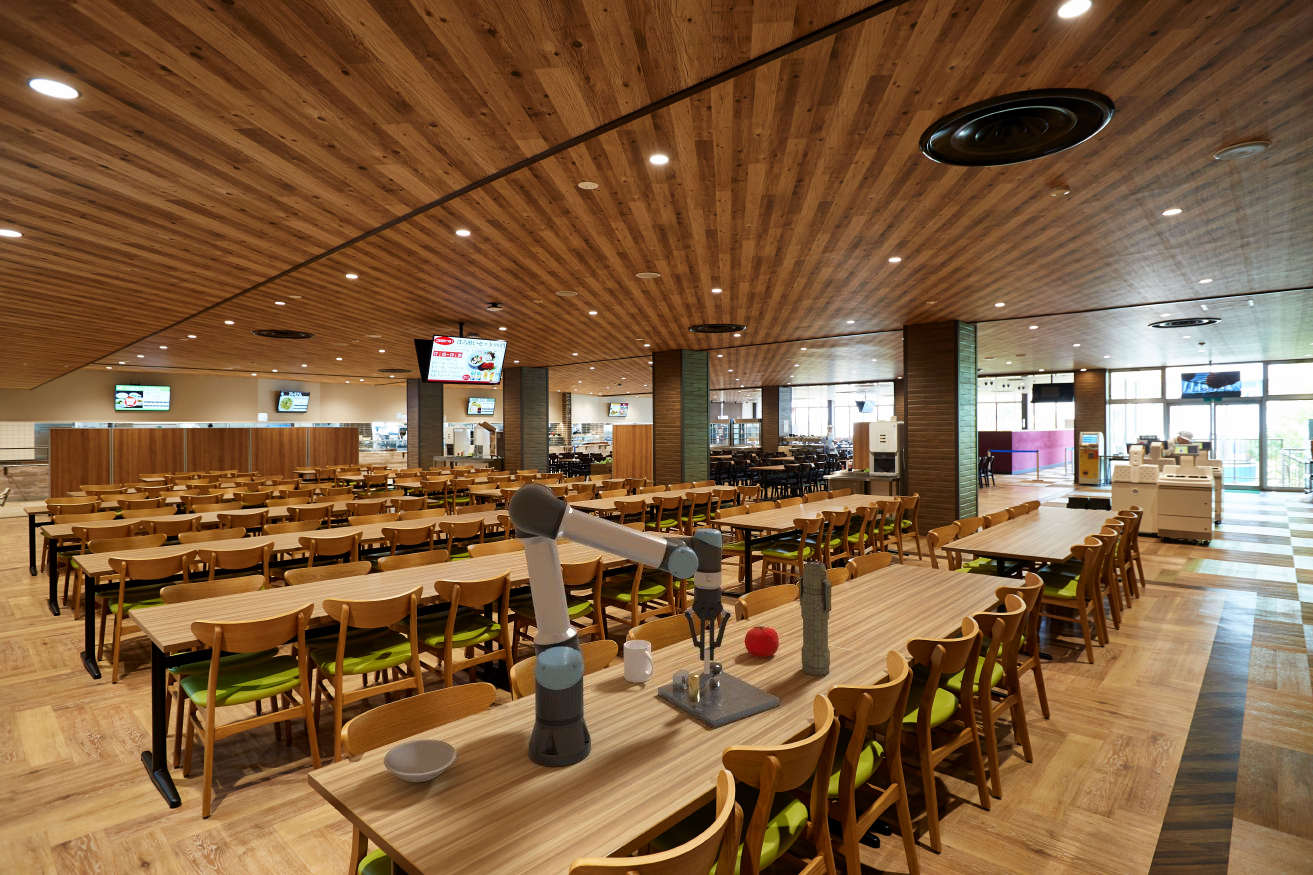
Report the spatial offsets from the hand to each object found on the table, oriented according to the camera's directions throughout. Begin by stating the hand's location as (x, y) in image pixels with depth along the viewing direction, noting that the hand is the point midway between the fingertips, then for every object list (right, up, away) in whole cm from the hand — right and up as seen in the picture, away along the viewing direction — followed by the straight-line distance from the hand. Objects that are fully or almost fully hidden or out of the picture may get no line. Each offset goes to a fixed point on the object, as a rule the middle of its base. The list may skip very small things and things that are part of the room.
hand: (706, 671), depth 170 cm
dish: (-67, -13, -30) cm, 75 cm away
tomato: (+23, -12, +46) cm, 53 cm away
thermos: (+38, -12, +31) cm, 50 cm away
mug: (-19, -12, +25) cm, 33 cm away
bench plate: (+4, -12, +10) cm, 16 cm away
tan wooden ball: (-3, -10, +13) cm, 16 cm away
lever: (0, -9, +9) cm, 13 cm away
